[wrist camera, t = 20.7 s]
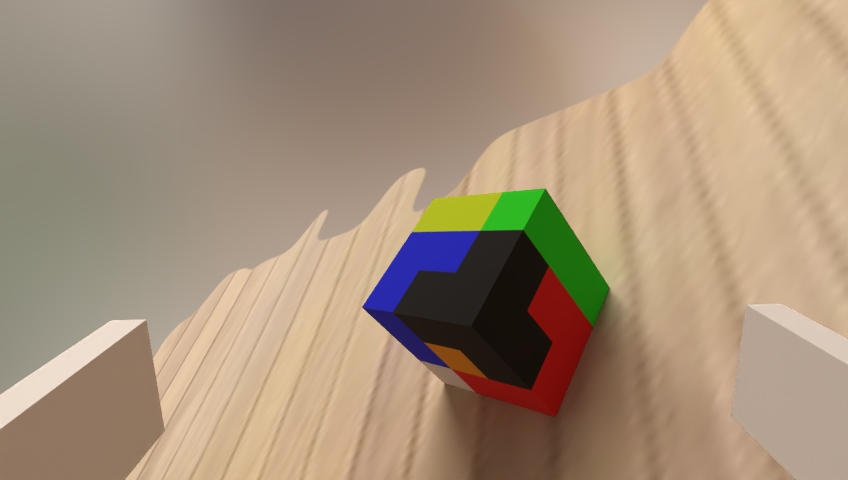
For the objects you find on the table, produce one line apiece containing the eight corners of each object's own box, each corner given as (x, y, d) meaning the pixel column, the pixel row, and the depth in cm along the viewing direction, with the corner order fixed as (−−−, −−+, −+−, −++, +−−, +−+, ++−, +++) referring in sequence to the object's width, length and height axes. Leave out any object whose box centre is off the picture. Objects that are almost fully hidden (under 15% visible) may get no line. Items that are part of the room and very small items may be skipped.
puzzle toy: (444, 383, 39) (362, 307, 34) (500, 280, 43) (433, 198, 38) (556, 417, 32) (471, 326, 27) (609, 288, 36) (545, 188, 31)
